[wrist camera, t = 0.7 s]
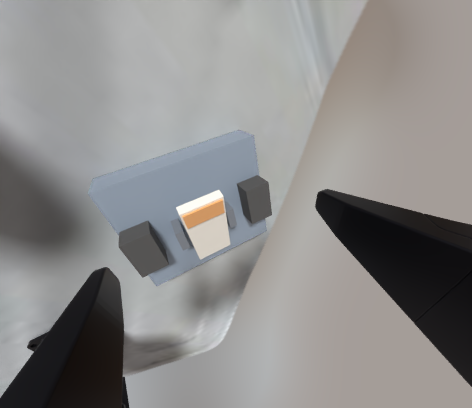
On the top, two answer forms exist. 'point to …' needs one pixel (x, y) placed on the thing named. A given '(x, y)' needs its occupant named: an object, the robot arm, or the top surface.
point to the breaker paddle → (206, 223)
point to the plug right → (255, 198)
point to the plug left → (143, 248)
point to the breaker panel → (181, 196)
